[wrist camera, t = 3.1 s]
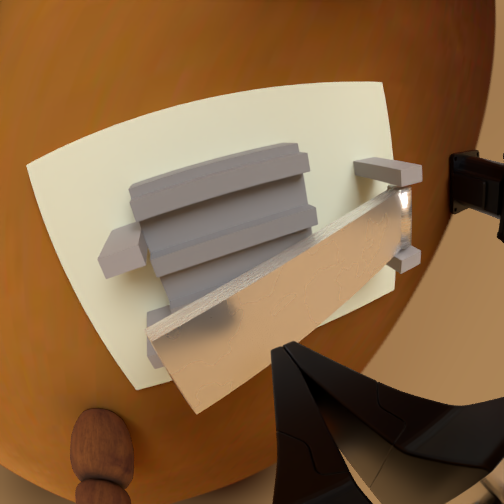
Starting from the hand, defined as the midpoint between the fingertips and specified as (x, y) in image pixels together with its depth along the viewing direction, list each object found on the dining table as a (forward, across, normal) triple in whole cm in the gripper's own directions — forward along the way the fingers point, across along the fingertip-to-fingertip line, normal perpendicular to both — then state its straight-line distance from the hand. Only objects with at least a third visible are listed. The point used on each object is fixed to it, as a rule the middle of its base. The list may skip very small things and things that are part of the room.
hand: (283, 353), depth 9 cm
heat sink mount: (+11, -2, 0) cm, 11 cm away
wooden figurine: (+11, +16, +13) cm, 23 cm away
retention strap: (+4, -4, 0) cm, 6 cm away
